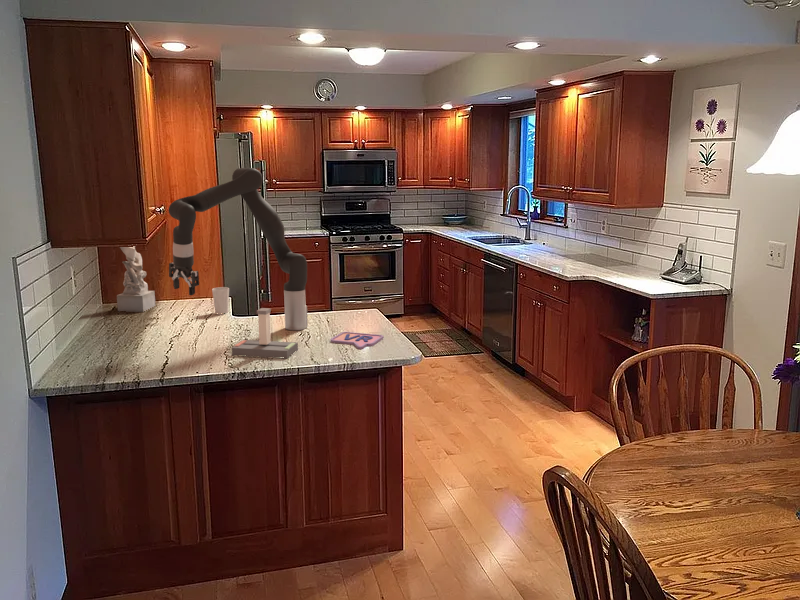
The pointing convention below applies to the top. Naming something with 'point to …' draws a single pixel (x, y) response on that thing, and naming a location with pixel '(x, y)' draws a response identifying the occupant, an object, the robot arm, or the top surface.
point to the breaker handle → (264, 325)
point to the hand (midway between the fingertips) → (184, 291)
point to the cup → (221, 299)
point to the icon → (357, 339)
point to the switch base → (265, 348)
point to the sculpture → (134, 285)
